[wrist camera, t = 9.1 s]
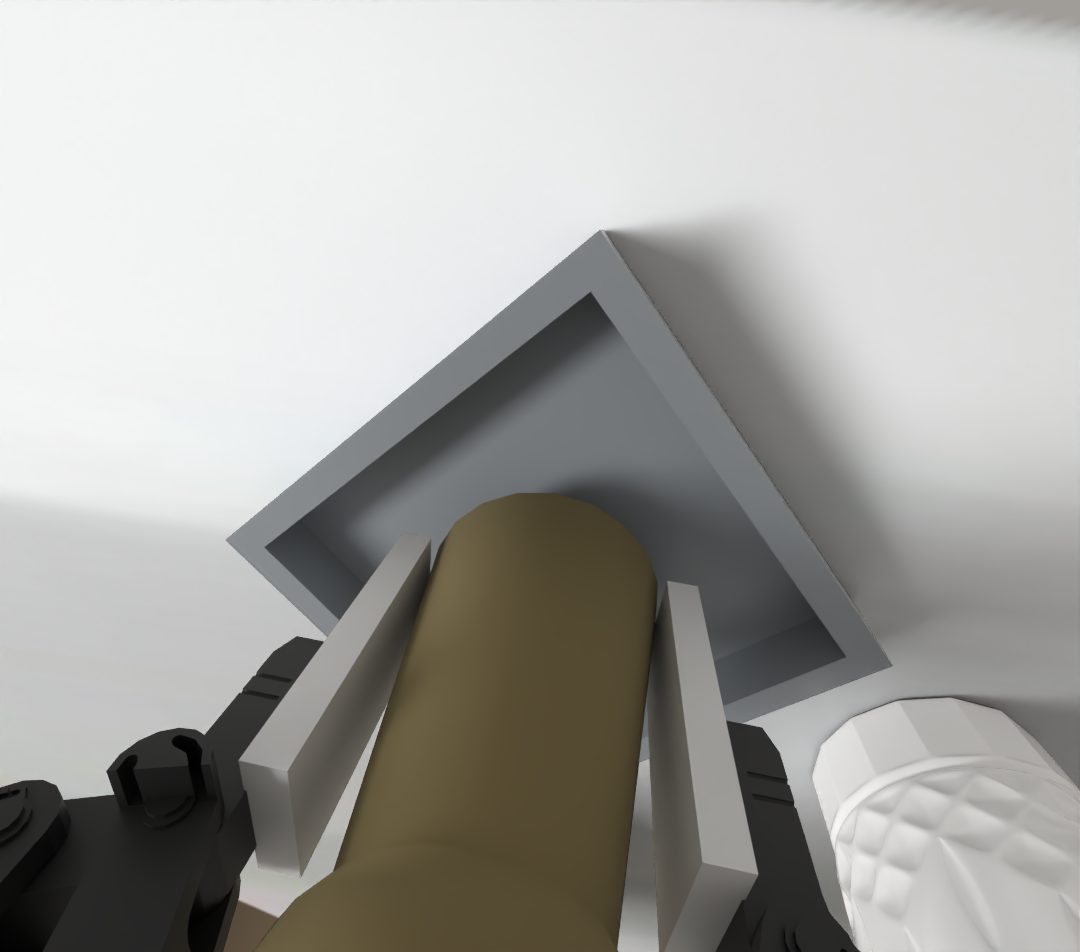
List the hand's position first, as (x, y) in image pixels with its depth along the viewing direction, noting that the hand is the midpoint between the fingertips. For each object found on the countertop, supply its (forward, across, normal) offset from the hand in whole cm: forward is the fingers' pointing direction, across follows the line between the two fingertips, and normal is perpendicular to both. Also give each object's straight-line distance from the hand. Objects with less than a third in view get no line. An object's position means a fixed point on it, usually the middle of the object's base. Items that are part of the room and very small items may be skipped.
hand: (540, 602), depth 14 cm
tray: (+3, 0, 0) cm, 3 cm away
